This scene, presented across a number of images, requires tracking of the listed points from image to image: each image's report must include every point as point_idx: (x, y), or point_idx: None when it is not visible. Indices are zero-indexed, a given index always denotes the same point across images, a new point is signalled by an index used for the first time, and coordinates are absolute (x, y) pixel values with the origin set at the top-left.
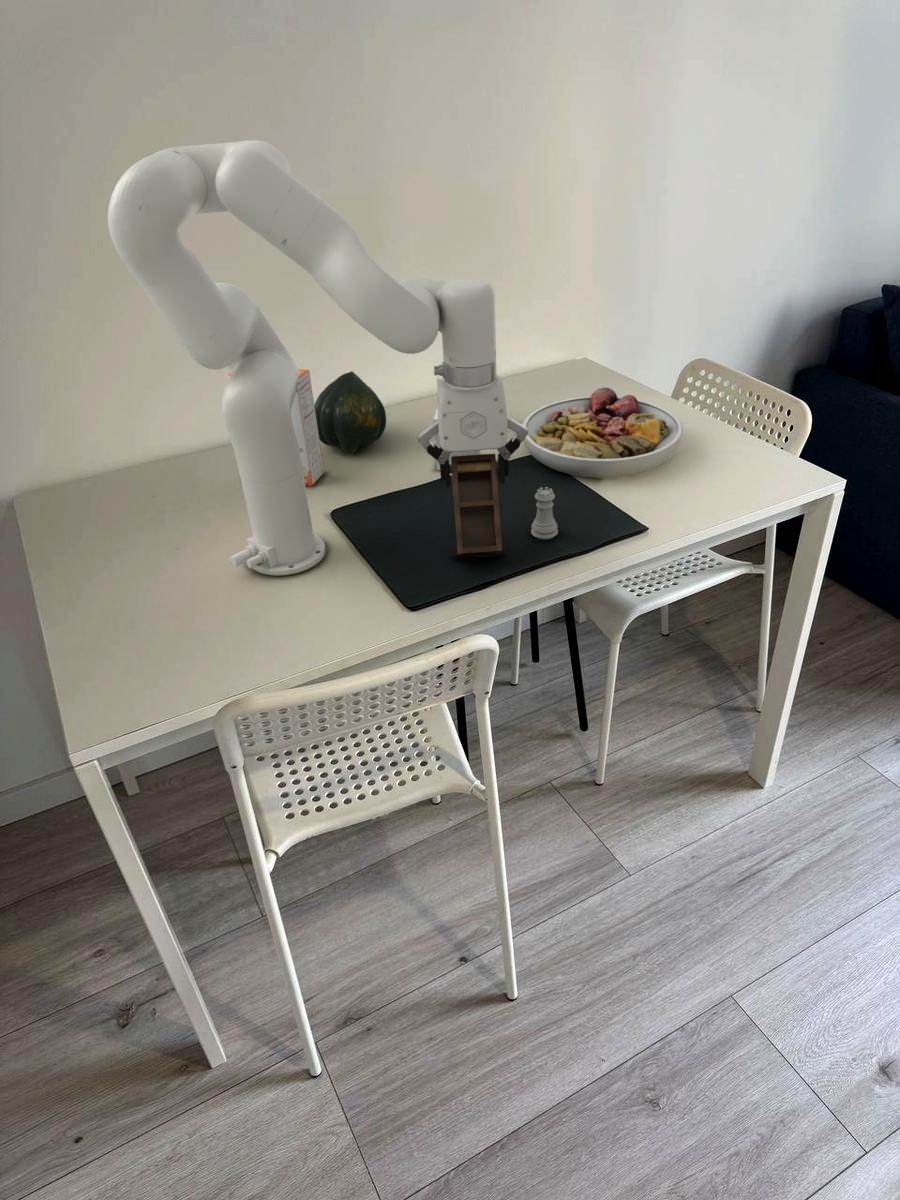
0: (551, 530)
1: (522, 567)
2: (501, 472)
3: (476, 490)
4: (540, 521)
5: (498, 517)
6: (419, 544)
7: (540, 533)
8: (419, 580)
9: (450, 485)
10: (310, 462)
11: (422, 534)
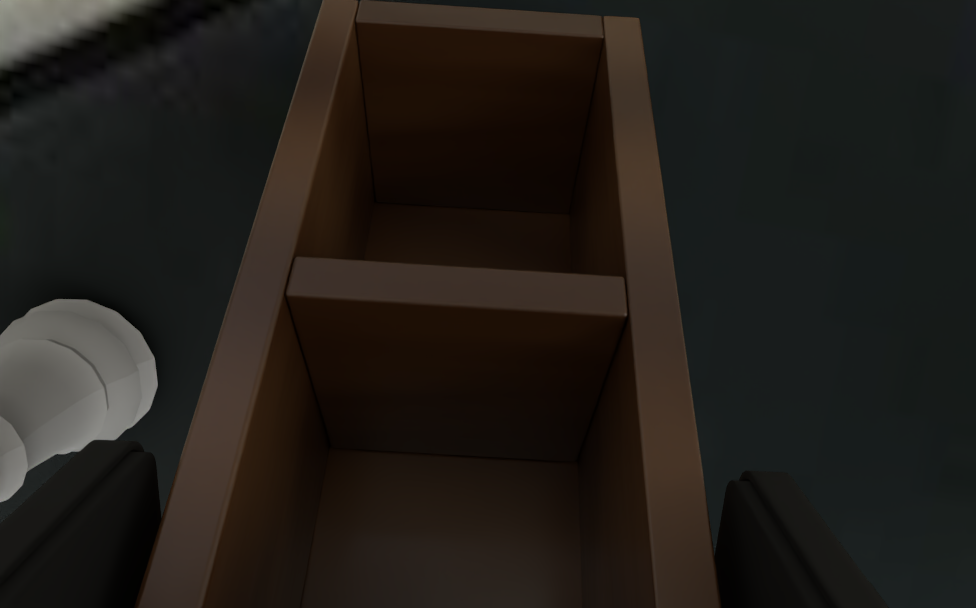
0: (20, 322)
1: (234, 36)
2: (48, 519)
3: (425, 575)
4: (57, 370)
5: (281, 163)
6: (771, 386)
7: (94, 322)
8: (850, 7)
9: (737, 486)
10: None
11: (736, 476)
